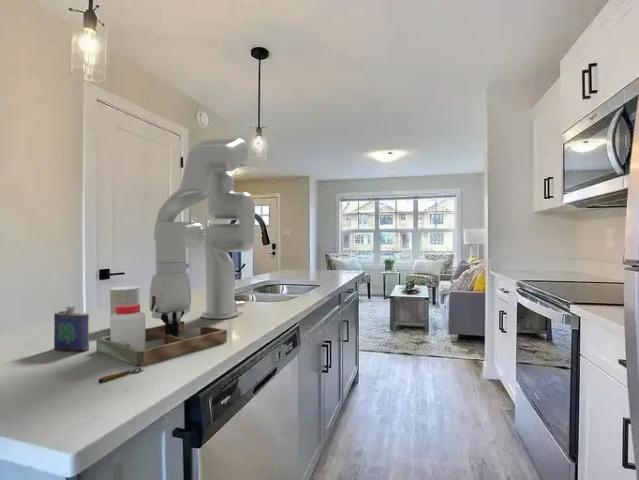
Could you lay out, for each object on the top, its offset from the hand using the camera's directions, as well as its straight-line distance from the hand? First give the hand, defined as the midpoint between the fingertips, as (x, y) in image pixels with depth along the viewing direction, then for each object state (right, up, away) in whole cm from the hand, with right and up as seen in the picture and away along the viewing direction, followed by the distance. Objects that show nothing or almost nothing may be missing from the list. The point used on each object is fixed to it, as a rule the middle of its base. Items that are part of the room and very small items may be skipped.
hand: (172, 337), depth 106 cm
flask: (-21, -1, -9) cm, 23 cm away
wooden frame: (0, -1, -6) cm, 6 cm away
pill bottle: (-7, -1, -10) cm, 12 cm away
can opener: (0, -2, -27) cm, 27 cm away
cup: (-19, -1, +14) cm, 24 cm away
